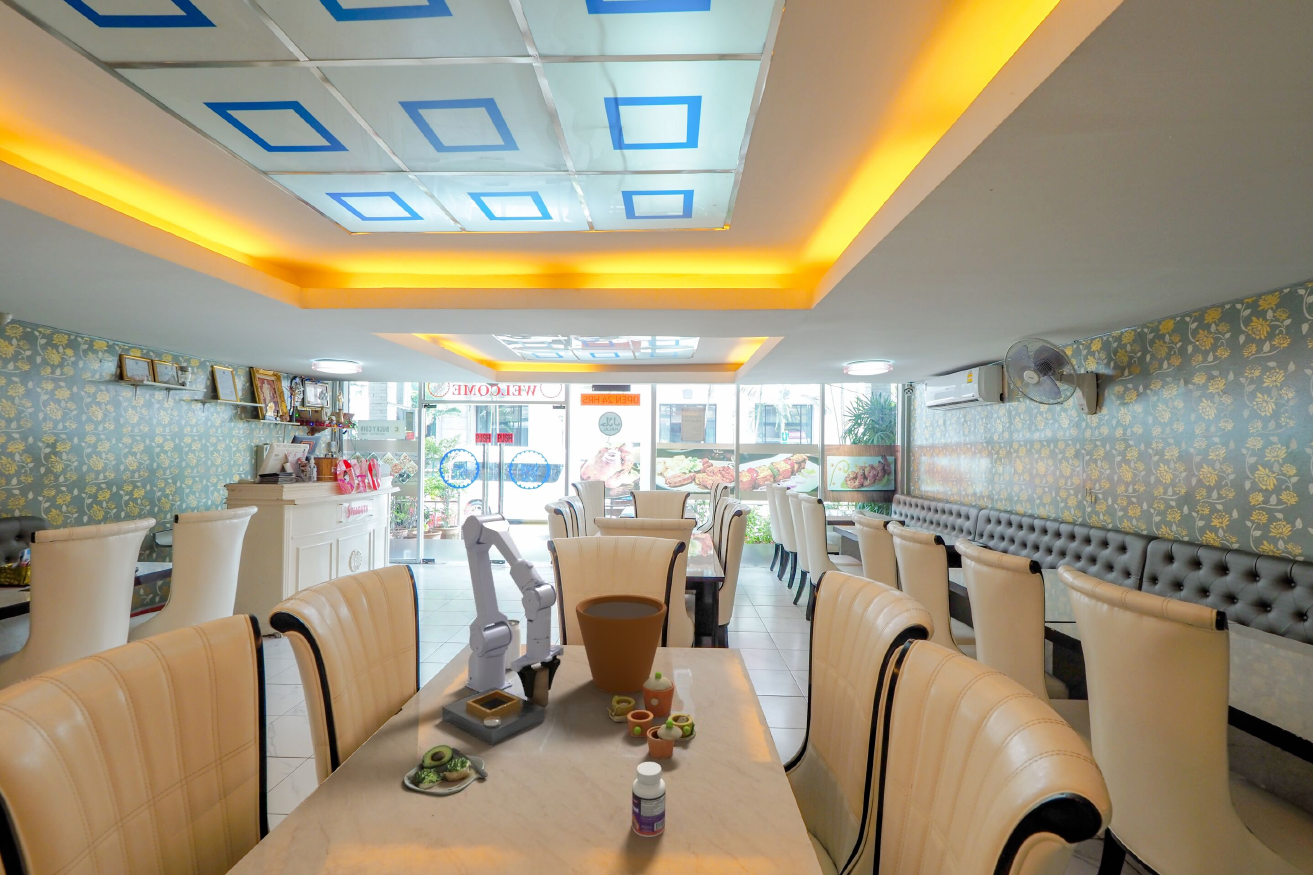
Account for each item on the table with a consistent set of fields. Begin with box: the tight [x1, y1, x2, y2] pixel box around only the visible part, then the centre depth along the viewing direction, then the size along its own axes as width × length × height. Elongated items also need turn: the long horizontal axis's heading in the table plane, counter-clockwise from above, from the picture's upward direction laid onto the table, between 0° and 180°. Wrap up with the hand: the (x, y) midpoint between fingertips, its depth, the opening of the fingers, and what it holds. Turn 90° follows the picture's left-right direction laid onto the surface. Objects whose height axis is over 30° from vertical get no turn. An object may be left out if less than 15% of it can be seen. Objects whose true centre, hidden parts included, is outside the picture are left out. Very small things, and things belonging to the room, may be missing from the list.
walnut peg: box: [526, 665, 550, 708], centre depth 138 cm, size 5×5×8 cm
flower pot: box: [575, 594, 668, 695], centre depth 152 cm, size 24×24×20 cm
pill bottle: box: [631, 761, 666, 838], centre depth 93 cm, size 5×5×10 cm
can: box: [505, 619, 522, 670], centre depth 162 cm, size 6×6×12 cm
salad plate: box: [402, 744, 489, 796], centre depth 108 cm, size 15×14×4 cm
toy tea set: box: [606, 671, 697, 759], centre depth 126 cm, size 26×16×10 cm, turn 26°
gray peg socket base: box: [441, 687, 545, 747], centre depth 129 cm, size 18×14×4 cm
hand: (537, 692), depth 138 cm, fingers closed on walnut peg, 5 cm apart
